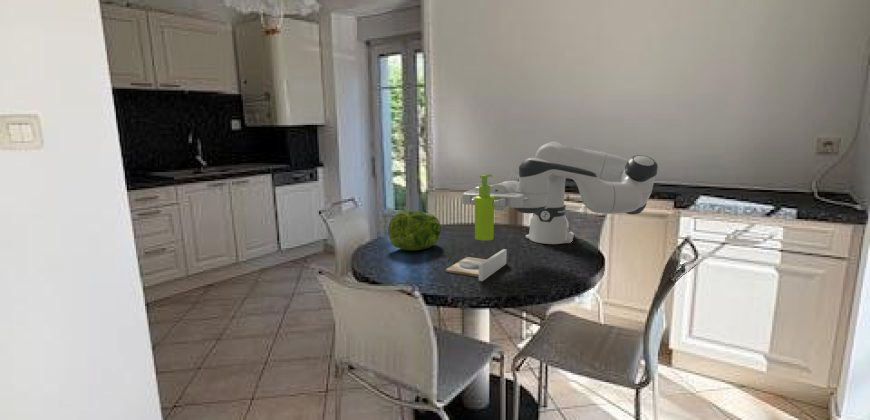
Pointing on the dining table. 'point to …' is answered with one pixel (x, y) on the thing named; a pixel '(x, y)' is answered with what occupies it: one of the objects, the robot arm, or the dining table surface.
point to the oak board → (466, 266)
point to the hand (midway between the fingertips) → (483, 203)
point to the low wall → (492, 264)
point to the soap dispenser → (484, 212)
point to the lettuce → (414, 230)
